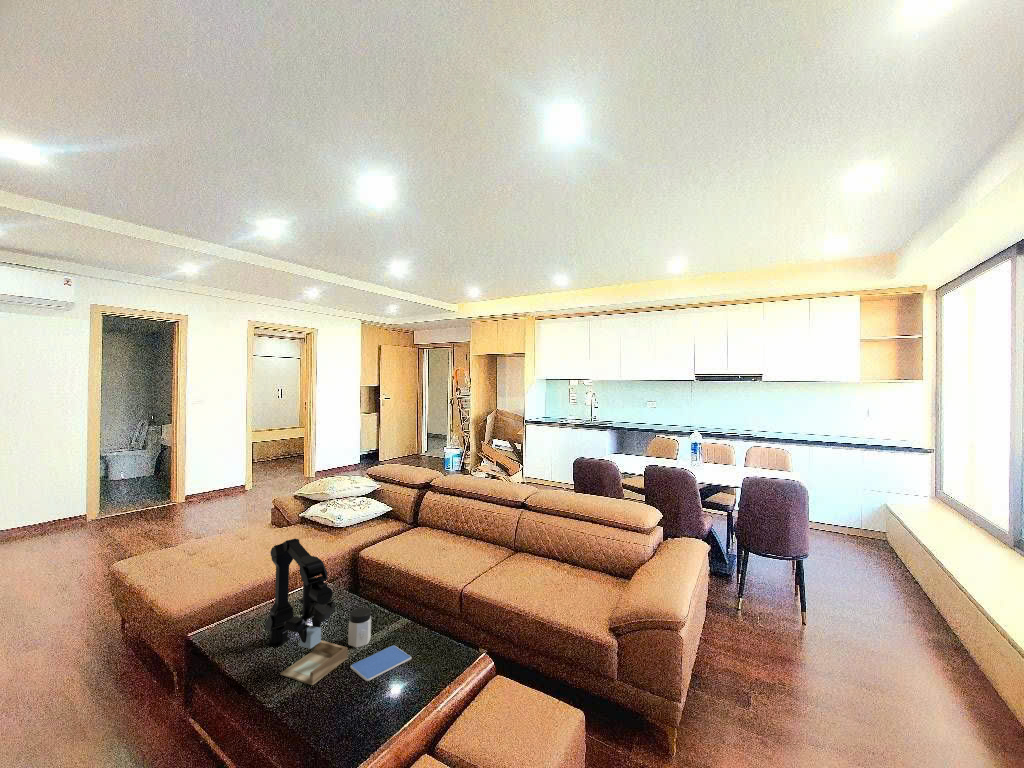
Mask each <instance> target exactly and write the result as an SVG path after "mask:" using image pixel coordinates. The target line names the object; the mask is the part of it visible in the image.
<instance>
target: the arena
mask: <svg viewBox="0 0 1024 768" xmlns="http://www.w3.org/2000/svg"><path fill="white" fill-rule="evenodd" d="M348 649H349V648H348V647H347V646H343V645H339V644H336V643H332V642H330V641H327V640H326V641H325V640H322V639H321V642H320V643H318V644H317V645H315V646H314V650H312V651H311V652H309V653H308V654H306V655H305V656H303V657H302V658H299V660H297V661H296V662H294V663H293V664H292V665H290V666H289V667H287V668H286V669H284V670H282V671H281V672H280V676H284V677H287V678H290V679H291V680H292V679H293V680H295V681H298V682H301V683H304V684H306V685H310V686H314V685H315V684H316V683H318V682H319V681H320V680H321V679H323V678H324V677H325V676H327V675H328V674H329V673H330V672H332V671H333V670H335V669H336V668H337V667H338V666H340V665H341V664H342V663H343V662H345V661H346V660H347V659H348Z"/></svg>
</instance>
